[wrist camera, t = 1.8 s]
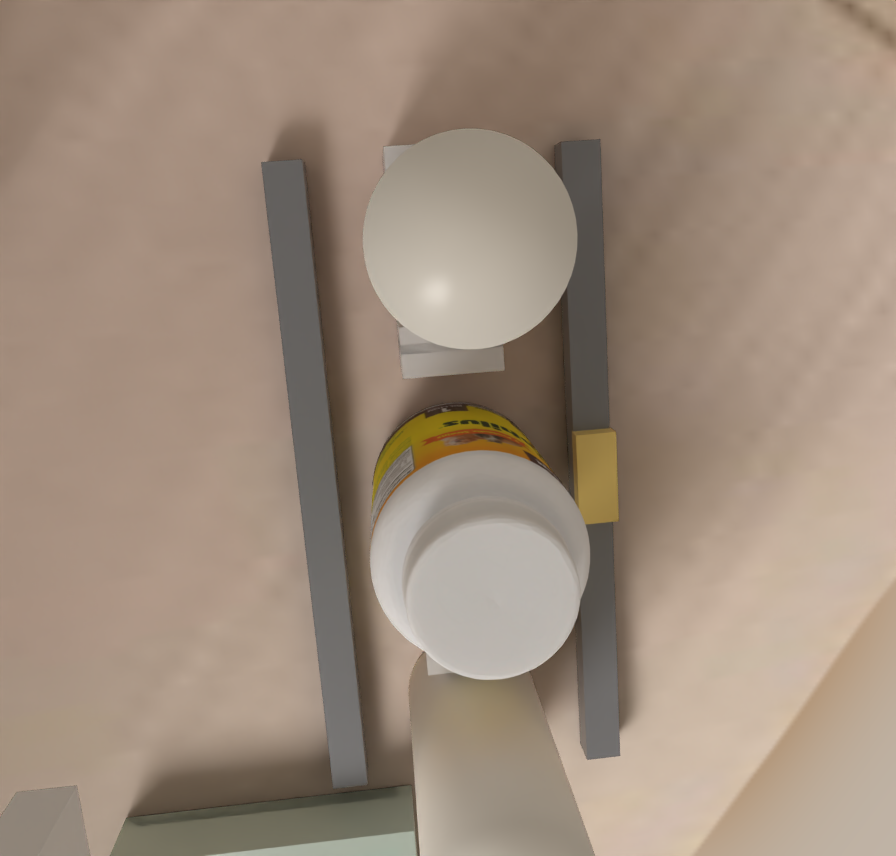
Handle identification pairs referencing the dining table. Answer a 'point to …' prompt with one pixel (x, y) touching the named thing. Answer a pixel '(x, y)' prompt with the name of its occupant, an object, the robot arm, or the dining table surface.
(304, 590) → the dining table surface
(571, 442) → the twin cylinder holder
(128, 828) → the tray
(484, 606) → the supplement bottle
